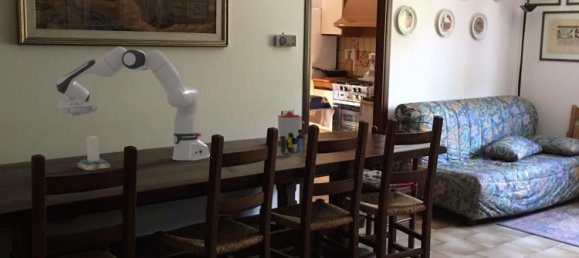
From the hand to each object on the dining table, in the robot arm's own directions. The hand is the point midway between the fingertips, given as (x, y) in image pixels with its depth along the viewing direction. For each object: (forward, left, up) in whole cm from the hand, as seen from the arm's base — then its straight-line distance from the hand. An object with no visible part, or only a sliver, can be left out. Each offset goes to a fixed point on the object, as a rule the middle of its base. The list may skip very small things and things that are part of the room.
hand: (84, 109), depth 315 cm
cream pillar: (+3, +16, -26) cm, 31 cm away
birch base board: (+3, +16, -28) cm, 32 cm away
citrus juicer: (-130, +12, -28) cm, 134 cm away
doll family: (-100, +49, -28) cm, 115 cm away
